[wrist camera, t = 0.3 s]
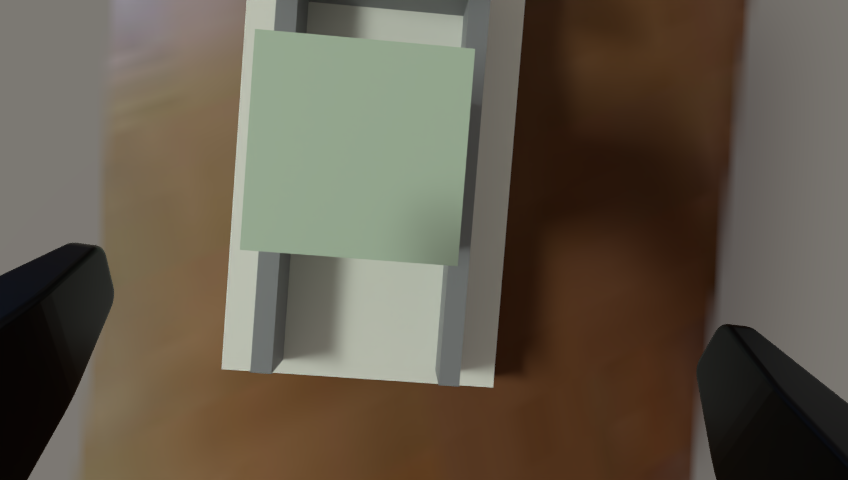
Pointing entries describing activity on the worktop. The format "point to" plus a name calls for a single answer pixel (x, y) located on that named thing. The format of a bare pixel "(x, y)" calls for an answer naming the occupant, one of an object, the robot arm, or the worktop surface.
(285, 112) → the block
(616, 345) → the worktop surface
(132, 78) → the worktop surface
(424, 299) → the housing
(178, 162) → the worktop surface
